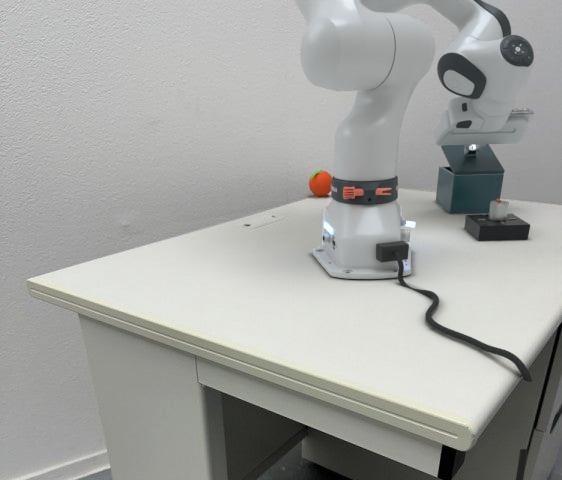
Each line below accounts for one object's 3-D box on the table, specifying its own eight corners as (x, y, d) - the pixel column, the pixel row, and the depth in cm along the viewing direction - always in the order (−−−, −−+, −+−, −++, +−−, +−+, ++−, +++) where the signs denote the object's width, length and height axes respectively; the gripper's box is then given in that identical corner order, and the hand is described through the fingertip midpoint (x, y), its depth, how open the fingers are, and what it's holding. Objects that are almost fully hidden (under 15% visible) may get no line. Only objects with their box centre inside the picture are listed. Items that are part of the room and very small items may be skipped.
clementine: (320, 200, 151) (320, 173, 148) (301, 197, 156) (301, 171, 152) (338, 195, 156) (338, 169, 153) (319, 192, 161) (319, 167, 157)
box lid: (440, 146, 139) (441, 143, 138) (486, 145, 139) (487, 142, 138) (454, 175, 128) (454, 171, 127) (503, 173, 128) (504, 170, 127)
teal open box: (435, 201, 145) (439, 166, 141) (479, 200, 145) (484, 165, 141) (449, 213, 132) (454, 175, 128) (497, 212, 132) (504, 174, 128)
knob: (508, 221, 112) (512, 202, 110) (491, 221, 112) (494, 202, 110) (502, 217, 115) (505, 198, 113) (485, 217, 115) (488, 199, 113)
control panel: (527, 239, 110) (530, 223, 109) (478, 240, 111) (480, 225, 109) (510, 227, 119) (512, 212, 118) (464, 228, 119) (466, 214, 118)
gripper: (535, 96, 121) (511, 140, 134) (442, 99, 121) (427, 142, 134) (539, 120, 119) (514, 161, 132) (445, 123, 119) (430, 164, 133)
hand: (470, 152), depth 133 cm, fingers closed
